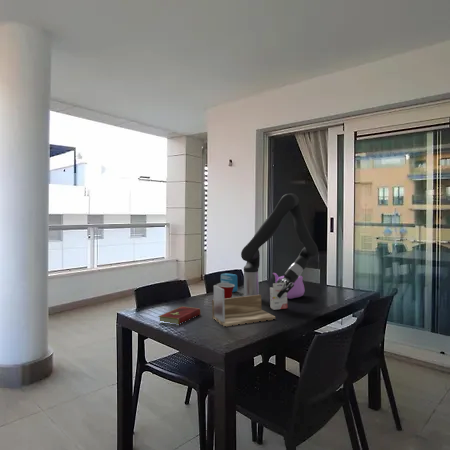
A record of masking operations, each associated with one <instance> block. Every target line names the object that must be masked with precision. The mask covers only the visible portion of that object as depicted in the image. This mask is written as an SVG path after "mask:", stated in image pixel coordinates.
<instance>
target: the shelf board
mask: <svg viewBox="0 0 450 450" xmlns="http://www.w3.org/2000/svg"><path fill="white" fill-rule="evenodd" d="M211 303H212V304H211V306H212V308H211V309H212V310H211V313H212V319H213V320H214V319H215V320H216V321H215V320H214V321H215V322H217V323H218V322H219V323H218V324H219V325H221V326H222V325H223V327H224V326H226V327H232V325H233V326H238V324H240V325H246V324H245V323H247V324H252V323H253V322H254V323H260V322H259V321H261V322H266V320H268V321H274V320H273V319H275V320H276V316H275V315H273V314H271V313H269V312H267V311H266V310H263V309H262V294H259V295H252V296H244V295H243V296H236V297H234V296H233V297H232V298H226V299H224V305H225V322H221V321H220V320H219V319H217V318H216V317H214V299H212V301H211Z"/></svg>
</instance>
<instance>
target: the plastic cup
mask: <svg viewBox="0 0 450 450" xmlns="http://www.w3.org/2000/svg"><path fill="white" fill-rule="evenodd" d="M216 286H218V287H220V288H223V289H224V299H226V298H233V296H232V295H233V293H232V291H233V288H234V286H235V285H234V284H230V283H221V282H219V283H216Z"/></svg>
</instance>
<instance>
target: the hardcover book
mask: <svg viewBox="0 0 450 450" xmlns="http://www.w3.org/2000/svg"><path fill="white" fill-rule="evenodd" d="M201 312H202V311H201V308H199V307H190V306H180V307H177V308H174V309H173V310H170V311H168V312H164V313H163V314H161V315H158V316H157V317H158V318H159V322H160V321H164V322H170V323H176V324H180V323H182V322H185V321H187V320H189V319H191V318H193V317H195V316H197V317H199V316H201ZM198 315H199V316H198ZM195 318H196V317H195ZM193 319H194V318H193ZM191 320H192V319H191ZM189 321H190V320H189ZM187 322H188V321H187ZM185 323H186V322H185Z"/></svg>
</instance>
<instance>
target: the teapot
mask: <svg viewBox="0 0 450 450" xmlns="http://www.w3.org/2000/svg"><path fill="white" fill-rule="evenodd" d="M272 275H274V278H275V279H274V280H275V281H274V282H275V283H276V282H277V281H278V279H281V280H282V279H283V278H284V275H281V276H279V275H278V274H277V273H276V272H272ZM303 279H304V277H303V276H302V275H300V276H299V277H298V279H297V280H296V281H295V283H293V284H294V286H293V287H292V288H291V290H290V291H289V292H288V293H287V300H293V299H296V298H301V297H303V296H304V294H305V292H306V291H305V285H304V282H303ZM280 286H281V285H280ZM288 289H289V288H288Z"/></svg>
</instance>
